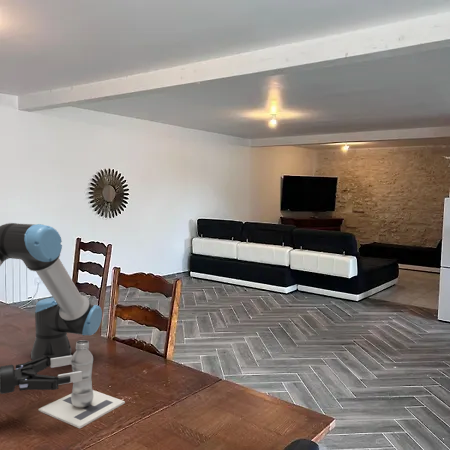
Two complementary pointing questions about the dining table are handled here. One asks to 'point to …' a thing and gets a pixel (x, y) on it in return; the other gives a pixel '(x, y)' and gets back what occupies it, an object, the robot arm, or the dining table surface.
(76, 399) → the plastic bottle
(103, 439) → the dining table surface
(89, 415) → the letter board
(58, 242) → the robot arm
